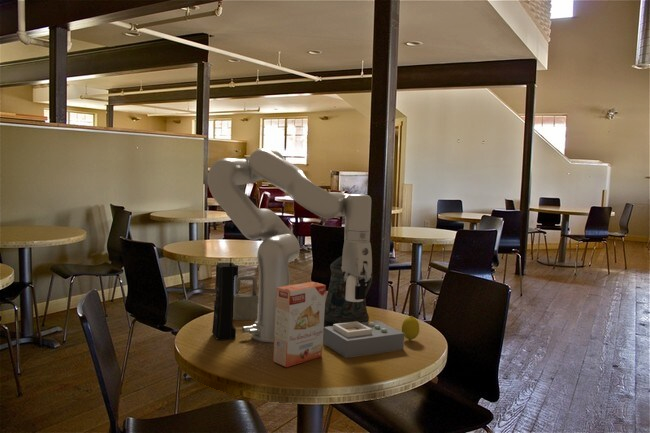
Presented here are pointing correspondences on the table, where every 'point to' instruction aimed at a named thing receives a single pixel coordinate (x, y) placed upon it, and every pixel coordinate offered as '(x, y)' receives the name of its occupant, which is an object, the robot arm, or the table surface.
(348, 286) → the white domed cylinder
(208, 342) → the table surface
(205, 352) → the table surface
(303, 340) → the cracker box
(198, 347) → the table surface
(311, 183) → the robot arm
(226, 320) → the black rectangular column
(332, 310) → the beer stein
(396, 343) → the grey button console
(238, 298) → the padlock
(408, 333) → the lemon
